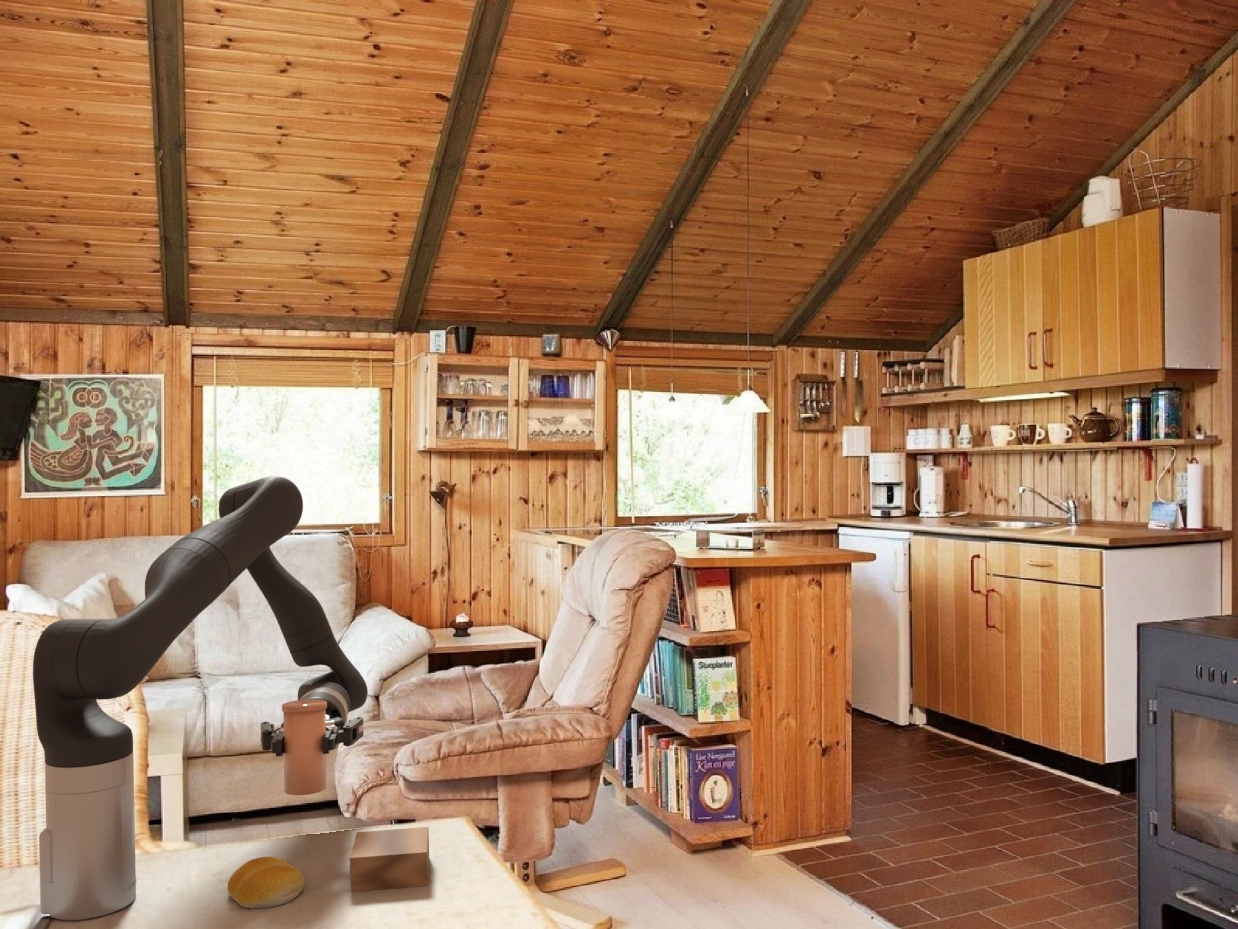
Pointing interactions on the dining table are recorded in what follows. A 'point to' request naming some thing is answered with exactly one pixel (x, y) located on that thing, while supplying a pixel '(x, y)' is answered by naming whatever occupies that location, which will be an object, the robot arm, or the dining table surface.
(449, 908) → the dining table surface
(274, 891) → the bread roll
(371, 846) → the plinth
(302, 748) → the jar
